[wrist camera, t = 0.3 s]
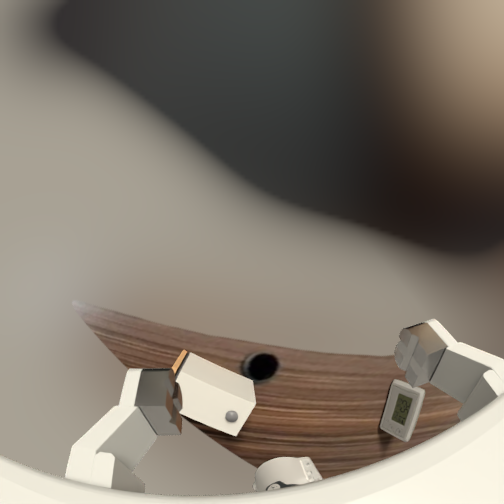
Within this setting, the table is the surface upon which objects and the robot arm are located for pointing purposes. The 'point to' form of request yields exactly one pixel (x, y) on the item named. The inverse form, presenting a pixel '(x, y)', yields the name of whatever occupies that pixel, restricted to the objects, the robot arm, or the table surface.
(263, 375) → the table surface
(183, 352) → the wooden flat board
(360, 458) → the table surface
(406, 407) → the digital clock
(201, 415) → the camera case
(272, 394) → the table surface
